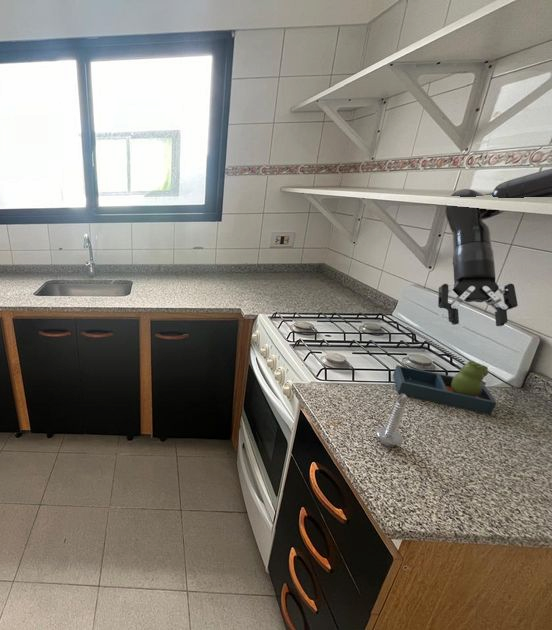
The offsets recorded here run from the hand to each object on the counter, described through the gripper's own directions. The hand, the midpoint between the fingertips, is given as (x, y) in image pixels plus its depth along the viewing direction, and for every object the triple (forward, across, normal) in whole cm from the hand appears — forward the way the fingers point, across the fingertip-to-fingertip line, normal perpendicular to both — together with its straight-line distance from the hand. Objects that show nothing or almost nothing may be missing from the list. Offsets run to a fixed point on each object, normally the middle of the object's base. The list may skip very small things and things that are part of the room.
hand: (477, 324), depth 86 cm
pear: (+18, -2, +6) cm, 19 cm away
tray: (+18, -7, +6) cm, 20 cm away
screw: (+31, -23, -16) cm, 41 cm away
